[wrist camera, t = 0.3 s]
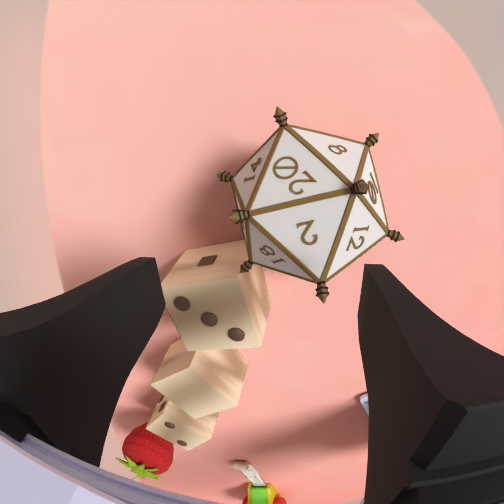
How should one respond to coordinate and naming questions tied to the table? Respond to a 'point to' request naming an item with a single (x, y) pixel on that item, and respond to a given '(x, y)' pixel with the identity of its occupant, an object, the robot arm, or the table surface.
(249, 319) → the pip block
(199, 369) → the plain block
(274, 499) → the toy measuring tape
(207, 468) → the table surface
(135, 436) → the strawberry
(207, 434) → the pip block
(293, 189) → the game die
